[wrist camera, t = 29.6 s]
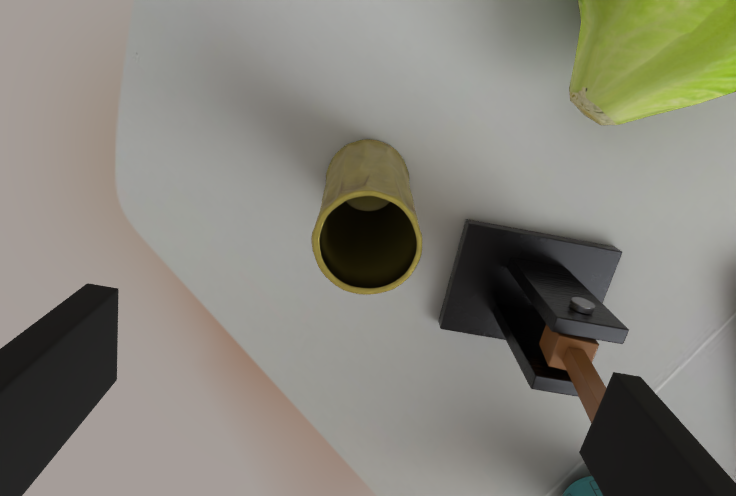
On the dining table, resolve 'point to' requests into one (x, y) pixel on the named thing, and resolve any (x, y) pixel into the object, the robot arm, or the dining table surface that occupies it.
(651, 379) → the dining table surface
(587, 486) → the beverage bottle
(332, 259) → the vase
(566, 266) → the stand
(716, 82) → the lettuce
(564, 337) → the lever
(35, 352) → the robot arm
